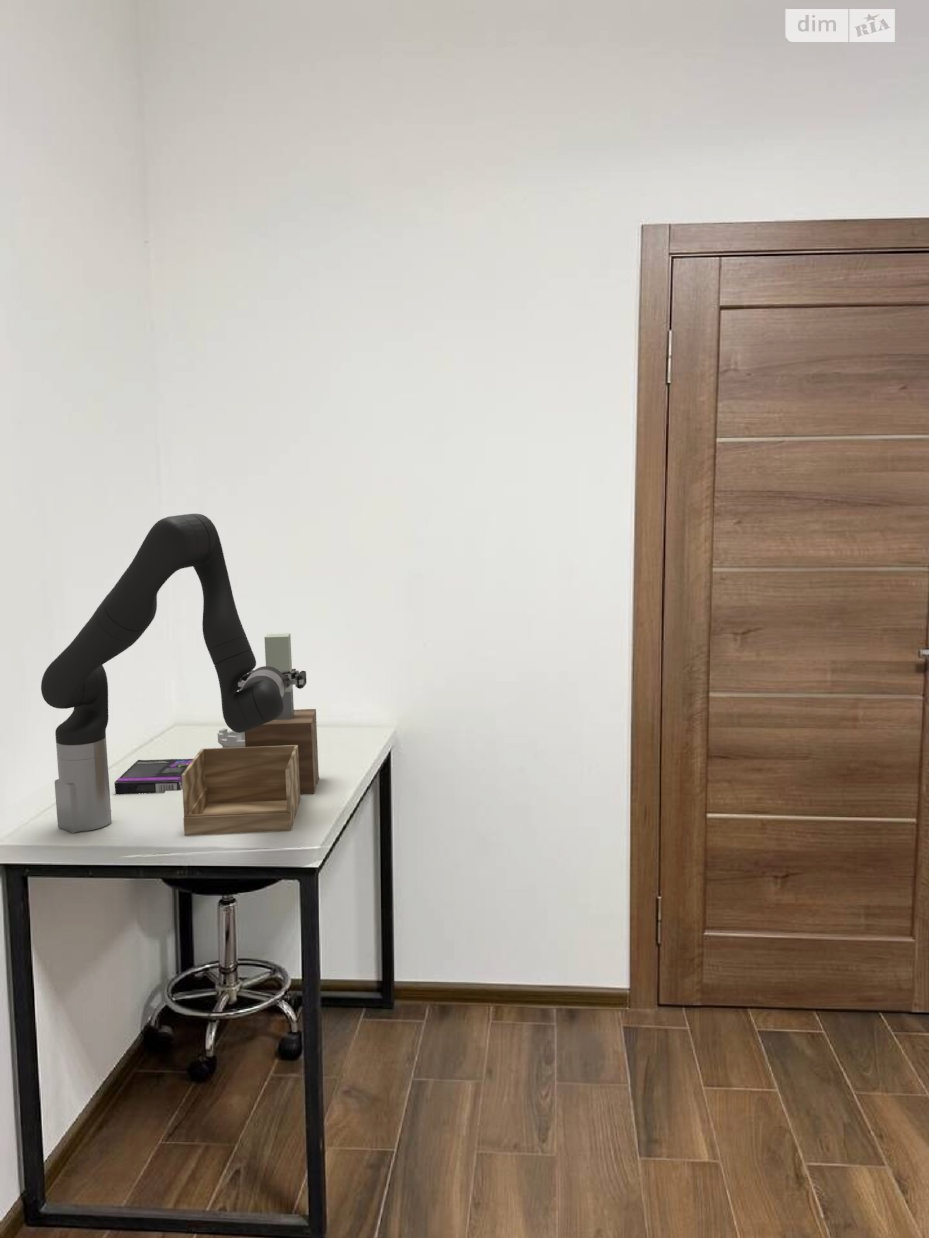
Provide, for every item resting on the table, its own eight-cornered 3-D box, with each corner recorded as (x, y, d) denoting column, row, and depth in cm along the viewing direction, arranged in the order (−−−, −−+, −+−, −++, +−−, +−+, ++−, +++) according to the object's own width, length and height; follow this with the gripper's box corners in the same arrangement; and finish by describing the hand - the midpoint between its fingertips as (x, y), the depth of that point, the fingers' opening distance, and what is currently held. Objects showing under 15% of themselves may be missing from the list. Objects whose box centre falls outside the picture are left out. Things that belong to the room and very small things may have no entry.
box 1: (178, 796, 223) (198, 770, 243) (178, 781, 223) (197, 756, 242) (114, 797, 223) (138, 771, 242) (113, 782, 222) (138, 757, 242)
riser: (314, 795, 218) (311, 722, 216) (247, 798, 217) (244, 725, 215) (318, 777, 232) (315, 708, 230) (256, 780, 231) (253, 711, 229)
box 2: (291, 719, 220) (288, 636, 218) (268, 719, 220) (264, 637, 218) (293, 714, 225) (290, 633, 223) (271, 714, 225) (267, 634, 223)
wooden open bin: (291, 832, 195) (288, 771, 193) (184, 837, 194) (180, 775, 192) (300, 800, 215) (298, 744, 214) (204, 804, 214) (201, 748, 212)
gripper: (300, 668, 195) (307, 655, 211) (225, 671, 194) (237, 657, 210) (302, 706, 196) (308, 690, 212) (227, 709, 195) (239, 693, 211)
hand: (273, 674), depth 211 cm, fingers open, 8 cm apart
